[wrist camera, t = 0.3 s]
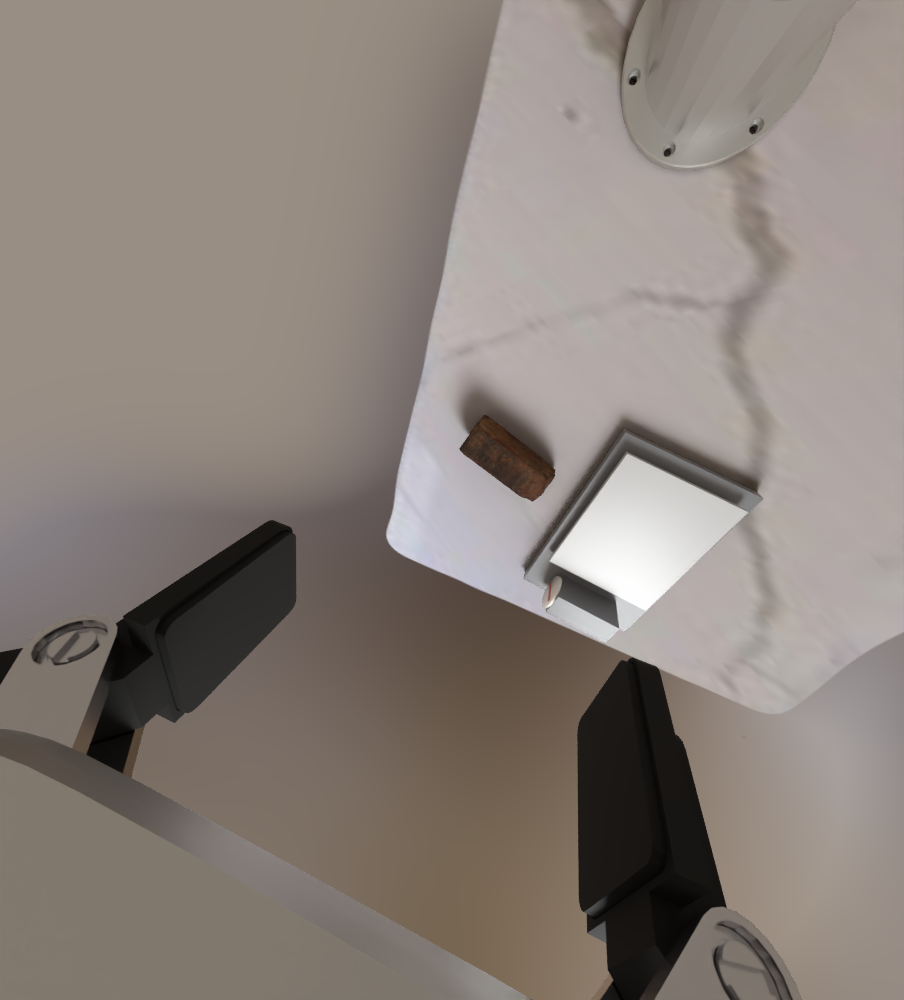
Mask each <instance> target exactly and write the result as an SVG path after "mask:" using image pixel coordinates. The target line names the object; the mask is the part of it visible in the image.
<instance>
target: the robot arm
mask: <svg viewBox="0 0 904 1000" xmlns="http://www.w3.org/2000/svg"><path fill="white" fill-rule="evenodd" d="M857 1H858V0H645V2H644V4H643V6H642V8H641V10H640V12H639V14H638V16H637V19H636V22H635V25H634V27H633V30H632V33H631V36H630V39H629V42H628V47H627V51H626V56H625V60H624V66H623V73H622V80H621V105H622V111H623V117H624V122H625V125H626V128H627V130H628V133H629V136H630V138H631V140H632V141H633V143H634V144H635V146H636V147H637V149H638V150H639V152H641V153H642V154H643V155H644V156H645V157H646V158H647V159H648V160H649V161H651V162H653V163H655V164H657V165H659V166H661V167H663V168H666V169H671V170H676V171H696V170H700V169H704V168H708V167H712V166H715V165H717V164H720V163H722V162H724V161H726V160H729V159H731V158H733V157H734V156H736V155H738V154H739V153H741V152H742V151H744V150H745V149H747V148H748V147H750V146H752V145H753V144H754V143H755V142H756V141H757V140H759V139H760V138H761V137H762V136H763V135H764V134H766V133H767V132H768V131H769V130H770V129H771V128H772V127H773V126H774V125H775V124H776V123H777V122H778V121H779V120H780V119H781V118H782V117H783V116H784V115H785V114H786V113H787V111H788V110H789V109H790V108H791V107H792V105H793V104H794V103H795V102H796V100H797V99H798V98H799V97H800V95H801V94H802V93H803V91H804V90H805V88H806V86H807V85H808V83H809V82H810V80H811V79H812V77H813V75H814V74H815V72H816V71H817V69H818V67H819V65H820V63H821V61H822V58H823V56H824V54H825V52H826V50H827V48H828V46H829V44H830V41H831V38H832V35H833V32H834V29H835V26H836V24H837V23H838V22H839V21H840V19H841V18H842V17H843V16H844V15H845V14H846V13H847V12H848V11H849V9H850V8H851V7H852V6H853V5H854V4H855V3H856V2H857ZM632 79H635V80H636V84H635V85H630V84H629V82H630V80H632ZM751 127H754V128H755V133H754V134H751V133H750V132H749V129H750V128H751ZM666 150H669V151H670V155H669V156H668V157H665V156H664V151H666ZM295 602H296V536H295V534H293V532H292V529H291V527H289V526H286V525H284V524H281V523H279V522H276V521H273V520H270V521H268V522H266V523H264V524H263V525H261V526H260V527H258V528H257V529H255V530H254V531H252V532H251V533H249V534H248V535H246V536H244V537H243V538H241V539H240V540H238V541H237V542H235V543H234V544H232V545H231V546H229V547H228V548H226V549H225V550H223V551H222V552H220V553H218V554H217V555H215V556H214V557H212V558H211V559H209V560H208V561H206V562H205V563H203V564H202V565H200V566H199V567H197V568H196V569H194V570H193V571H191V572H190V573H188V574H186V575H185V576H183V577H182V578H180V579H179V580H177V581H176V582H174V583H173V584H171V585H170V586H168V587H167V588H165V589H164V590H162V591H160V592H159V593H157V594H156V595H154V596H153V597H151V598H150V599H148V600H147V601H145V602H144V603H142V604H141V605H139V606H138V607H136V608H135V609H133V610H132V611H130V612H128V613H127V614H126V615H124V616H123V617H124V618H123V619H122V620H120V621H119V622H118V623H115V621H114V620H112V619H111V618H109V617H107V616H102V615H82V616H78V617H73V618H69V619H66V620H63V621H61V622H58V623H56V624H54V625H52V626H50V627H48V628H46V629H44V630H42V631H41V632H40V633H38V634H37V635H36V636H34V637H33V638H32V639H30V641H29V642H28V643H27V644H26V645H25V647H24V648H21V649H16V650H10V651H5V652H0V1000H532V999H530V998H528V997H526V996H524V995H523V994H521V993H519V992H518V991H516V990H514V989H513V988H511V987H509V986H508V985H506V984H504V983H502V982H500V981H499V980H497V979H495V978H494V977H492V976H490V975H489V974H487V973H485V972H483V971H481V970H479V969H478V968H476V967H474V966H472V965H471V964H469V963H467V962H465V961H463V960H462V959H460V958H458V957H456V956H454V955H453V954H451V953H449V952H447V951H445V950H443V949H442V948H440V947H438V946H436V945H435V944H433V943H431V942H429V941H428V940H426V939H424V938H422V937H420V936H419V935H417V934H415V933H413V932H411V931H409V930H408V929H406V928H404V927H402V926H401V925H399V924H397V923H395V922H393V921H392V920H390V919H388V918H386V917H384V916H382V915H381V914H379V913H377V912H375V911H374V910H372V909H370V908H368V907H366V906H365V905H363V904H361V903H359V902H357V901H355V900H354V899H352V898H350V897H348V896H346V895H345V894H343V893H341V892H339V891H337V890H336V889H334V888H332V887H330V886H328V885H326V884H325V883H323V882H321V881H319V880H317V879H316V878H314V877H312V876H310V875H308V874H307V873H305V872H303V871H301V870H299V869H297V868H296V867H294V866H292V865H290V864H288V863H287V862H285V861H283V860H281V859H279V858H277V857H276V856H274V855H272V854H270V853H268V852H266V851H265V850H263V849H261V848H259V847H257V846H255V845H254V844H252V843H250V842H248V841H247V840H245V839H243V838H241V837H239V836H237V835H236V834H234V833H232V832H230V831H228V830H226V829H225V828H223V827H221V826H219V825H217V824H215V823H214V822H212V821H210V820H208V819H206V818H204V817H202V816H201V815H199V814H197V813H195V812H193V811H191V810H190V809H188V808H186V807H184V806H182V805H180V804H179V803H177V802H175V801H173V800H171V799H169V798H167V797H165V796H164V795H162V794H160V793H158V792H156V791H155V790H153V789H151V788H149V787H147V786H145V785H143V784H142V783H140V782H138V781H136V780H134V779H132V778H131V777H132V773H133V770H134V765H135V762H136V758H137V754H138V750H139V746H140V743H141V739H142V734H143V731H144V727H145V724H146V723H147V722H148V721H149V720H150V719H151V718H153V717H154V716H155V715H156V714H158V715H160V716H162V717H164V718H166V719H168V720H170V721H172V722H174V723H175V722H176V721H177V720H178V719H179V718H180V717H181V716H182V715H183V714H184V713H189V712H192V711H193V710H194V709H196V708H197V707H198V706H199V705H200V704H201V703H202V702H203V701H204V700H205V699H206V698H207V697H208V695H210V694H211V693H212V691H214V689H215V688H216V687H217V686H218V685H219V684H220V683H221V682H222V681H223V680H224V679H225V678H226V677H227V676H228V675H229V674H230V673H231V672H232V671H233V670H234V669H235V668H236V667H237V666H238V665H239V664H240V663H241V662H242V661H243V660H244V659H245V658H246V657H247V656H248V655H249V653H250V652H252V650H253V649H254V648H255V647H256V646H257V645H258V644H259V643H260V642H261V641H262V640H263V639H264V638H265V637H266V636H267V635H268V634H269V633H270V632H271V631H272V630H273V629H274V628H275V627H276V626H277V624H279V623H280V622H281V621H282V620H283V619H284V618H285V617H286V615H288V614H289V613H290V611H291V610H292V609H293V607H294V605H295ZM577 736H578V737H577V738H578V852H579V853H578V858H579V903H580V907H581V910H582V911H583V912H585V913H587V933H588V934H590V935H592V936H594V937H596V938H598V939H600V940H602V941H604V942H606V944H607V964H608V971H609V975H608V976H607V978H606V979H605V980H604V982H603V983H602V985H601V986H600V988H599V989H598V991H597V992H596V994H595V995H594V996H593V998H592V999H591V1000H802V999H801V996H800V994H799V991H798V989H797V986H796V984H795V981H794V980H793V978H792V976H791V974H790V972H789V971H788V969H787V967H786V965H785V964H784V962H783V960H782V958H781V957H780V955H779V954H778V953H777V951H776V950H775V949H774V947H773V946H772V944H771V943H770V942H769V940H768V939H767V938H766V937H765V936H764V935H763V934H762V933H761V932H760V931H759V930H758V929H757V928H756V927H755V926H754V924H752V923H751V922H750V921H749V920H747V919H746V918H745V917H743V916H742V915H740V914H739V913H737V912H736V911H733V910H730V909H727V907H726V903H725V899H724V895H723V892H722V888H721V884H720V880H719V876H718V872H717V868H716V865H715V861H714V857H713V853H712V849H711V845H710V842H709V838H708V834H707V830H706V826H705V822H704V818H703V815H702V811H701V807H700V803H699V799H698V795H697V792H696V788H695V784H694V780H693V776H692V772H691V768H690V765H689V761H688V757H687V753H686V750H685V747H684V744H683V742H682V741H681V739H680V738H679V736H677V735H675V732H674V728H673V724H672V720H671V716H670V712H669V708H668V703H667V699H666V695H665V691H664V687H663V683H662V679H661V675H660V671H659V669H658V668H657V667H656V666H653V665H651V664H648V663H646V662H643V661H640V660H638V659H635V658H630V659H629V660H628V661H627V662H626V661H623V660H622V661H620V662H619V664H618V665H617V667H616V668H615V670H614V671H613V672H612V674H611V675H610V677H609V678H608V680H607V681H606V683H605V684H604V686H603V687H602V688H601V690H600V691H599V693H598V694H597V696H596V697H595V699H594V700H593V702H592V703H591V705H590V706H589V707H588V709H587V710H586V712H585V713H584V715H583V716H582V718H581V720H580V722H579V726H578V734H577Z"/></svg>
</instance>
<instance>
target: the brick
mask: <svg viewBox="0 0 904 1000" xmlns="http://www.w3.org/2000/svg"><path fill="white" fill-rule="evenodd" d="M460 451H461V452H462V453H463V454H464V455H466V456H467V457H468V458H470V459H471V460H473V461H474V462H475V463H476V464H478V465H479V466H480V467H482V468H483V469H484V470H486V471H487V472H488V473H490V474H491V475H492V476H494V477H495V478H496V479H498V480H499V481H500V482H502V483H503V484H504V485H506V486H507V487H508V488H510V489H511V490H512V491H514V492H515V493H516V494H518V495H519V496H521V497H523V498H527V499H529V500H531V501H534V500H536V499H537V498H538V497H539V496H541V495H542V494H543V492H544V491H545V489H546V488H547V486H548V485H549V484H550V483H551V481H552V480H553V478H554V477H555V469H554V468H552V467H551V466H550V465H549V464H548V463H547V462H546V461H544V460H543V459H542V458H541V457H540V456H538V455H537V454H536V453H535V452H533V451H532V450H531V449H529V448H528V447H527V446H526V445H524V444H523V443H522V442H520V441H519V440H518V439H516V438H515V437H514V436H512V435H511V434H510V433H508V432H507V431H506V430H505V429H503V428H502V427H501V426H499V425H498V424H497V423H495V422H494V421H493V420H491V419H490V418H489V417H487V416H485V415H484V417H483V418H482V419H481V420H480V421H479V422H478V423H477V425H476V426H475V427H474V428H473V430H472V431H471V433H470V435H469V436H468V437H467V439H466V440H465V442H464V443H463V444H462V446H461V447H460Z"/></svg>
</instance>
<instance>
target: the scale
mask: <svg viewBox="0 0 904 1000" xmlns="http://www.w3.org/2000/svg"><path fill="white" fill-rule="evenodd" d="M762 500H763V498H762V497H761V496H760V494H759V493H758V492H756V491H754V490H752V489H749V488H747V487H745V486H743V485H741V484H739V483H737V482H735V481H733V480H731V479H729V478H727V477H724V476H722V475H720V474H718V473H716V472H714V471H712V470H710V469H708V468H706V467H704V466H702V465H699V464H697V463H695V462H693V461H691V460H689V459H687V458H685V457H683V456H681V455H679V454H676V453H674V452H672V451H670V450H668V449H666V448H664V447H662V446H660V445H658V444H656V443H654V442H651V441H649V440H647V439H645V438H643V437H641V436H639V435H637V434H635V433H633V432H631V431H629V430H626V429H623V431H622V432H621V434H620V435H619V436H618V438H617V439H616V441H615V442H614V444H613V445H612V447H611V448H610V450H609V451H608V452H607V454H606V455H605V457H604V458H603V460H602V461H601V463H600V464H599V465H598V467H597V468H596V470H595V471H594V473H593V474H592V476H591V477H590V479H589V480H588V481H587V483H586V484H585V486H584V487H583V489H582V490H581V492H580V493H579V494H578V496H577V497H576V499H575V500H574V502H573V503H572V505H571V506H570V508H569V509H568V510H567V512H566V513H565V515H564V516H563V518H562V519H561V521H560V522H559V523H558V525H557V526H556V528H555V529H554V531H553V532H552V534H551V535H550V537H549V538H548V539H547V541H546V542H545V544H544V545H543V547H542V548H541V550H540V551H539V552H538V554H537V555H536V557H535V558H534V560H533V561H532V563H531V564H530V566H529V567H528V568H527V570H526V571H525V574H524V579H525V580H527V581H529V582H531V583H533V584H534V585H536V586H538V587H540V588H542V589H544V590H546V591H545V593H544V596H543V599H542V607H544V608H546V612H547V613H549V614H551V615H553V616H555V617H556V618H558V619H560V620H562V621H564V622H566V623H568V624H570V625H572V626H573V627H575V628H577V629H579V630H581V631H583V632H585V633H587V634H589V635H591V636H592V637H594V638H596V639H598V640H600V641H602V642H604V643H605V642H606V641H607V640H608V639H609V638H610V637H612V636H613V635H614V634H615V633H616V632H617V631H618V630H619V629H620V630H622V631H624V632H625V631H626V630H627V629H628V628H629V627H630V626H631V625H632V624H633V623H634V622H635V621H636V620H637V619H638V618H640V617H641V616H642V615H643V614H644V613H645V612H646V611H647V610H648V609H649V608H650V607H651V606H652V605H653V604H654V603H655V602H656V601H657V600H658V599H659V598H660V597H661V596H662V595H664V594H665V593H666V592H667V591H668V590H669V589H670V588H671V587H672V586H673V585H674V584H675V583H676V582H677V581H678V580H679V579H680V578H681V577H682V576H683V575H684V574H685V573H686V572H687V571H689V570H690V569H691V568H692V567H693V566H694V565H695V564H696V563H697V562H698V561H699V560H700V559H701V558H702V557H703V556H704V555H705V554H706V553H707V552H708V551H709V550H710V549H711V548H713V547H714V546H715V545H716V544H717V543H718V542H719V541H720V540H721V539H722V538H723V537H724V536H725V535H726V534H727V533H728V532H729V531H730V530H731V529H732V528H733V527H734V526H735V525H737V524H738V523H739V522H740V521H741V520H742V519H743V518H744V517H745V516H746V515H747V514H748V513H749V512H750V511H751V510H752V509H753V508H754V507H755V506H756V505H757V504H758V503H759V502H760V501H762Z"/></svg>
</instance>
